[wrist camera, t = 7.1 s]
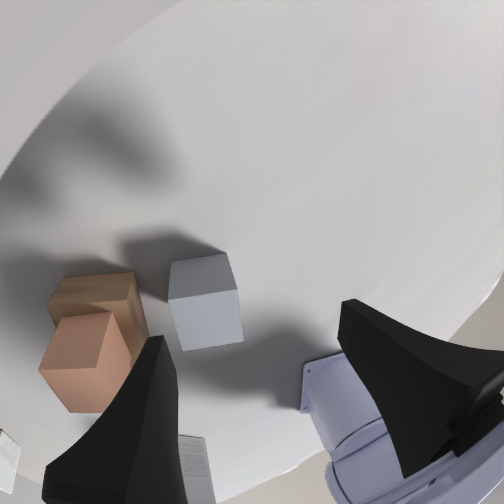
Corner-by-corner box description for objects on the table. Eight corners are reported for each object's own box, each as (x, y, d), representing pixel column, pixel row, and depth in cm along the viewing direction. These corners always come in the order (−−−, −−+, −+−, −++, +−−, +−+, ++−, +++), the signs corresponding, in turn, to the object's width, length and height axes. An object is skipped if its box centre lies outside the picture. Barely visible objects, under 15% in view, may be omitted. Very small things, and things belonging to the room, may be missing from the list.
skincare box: (195, 456, 32) (206, 530, 22) (164, 452, 31) (171, 529, 20) (206, 437, 30) (221, 521, 20) (172, 433, 29) (180, 521, 18)
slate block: (232, 299, 23) (244, 341, 18) (181, 307, 22) (182, 351, 18) (226, 252, 21) (237, 289, 16) (171, 261, 20) (167, 300, 16)
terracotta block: (131, 356, 18) (124, 412, 14) (84, 360, 18) (70, 412, 13) (111, 311, 17) (95, 367, 12) (61, 317, 16) (38, 369, 12)
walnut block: (149, 333, 23) (146, 367, 19) (86, 336, 22) (75, 368, 18) (135, 270, 20) (126, 300, 17) (65, 275, 19) (46, 304, 15)
